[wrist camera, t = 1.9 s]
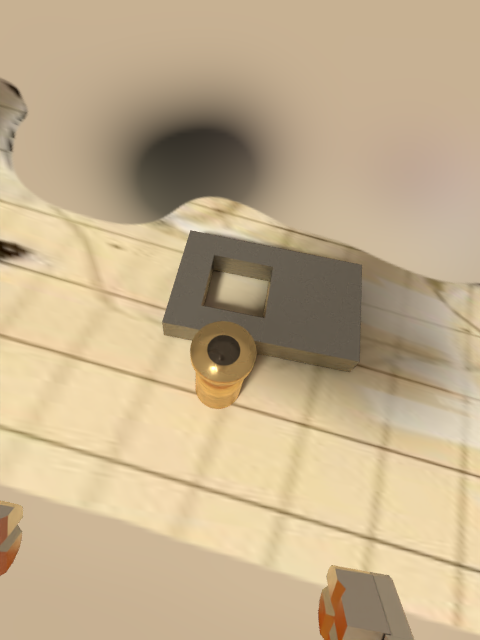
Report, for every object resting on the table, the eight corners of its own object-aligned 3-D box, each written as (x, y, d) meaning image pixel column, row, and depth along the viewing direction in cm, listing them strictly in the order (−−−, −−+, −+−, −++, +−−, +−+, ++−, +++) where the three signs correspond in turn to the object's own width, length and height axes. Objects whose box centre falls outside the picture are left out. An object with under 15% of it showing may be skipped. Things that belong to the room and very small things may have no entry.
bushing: (185, 407, 35) (183, 374, 27) (197, 357, 37) (198, 315, 30) (239, 418, 35) (251, 387, 28) (248, 367, 37) (261, 327, 30)
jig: (164, 334, 38) (162, 322, 35) (190, 246, 43) (190, 230, 41) (349, 371, 38) (359, 361, 36) (353, 278, 43) (361, 264, 41)
